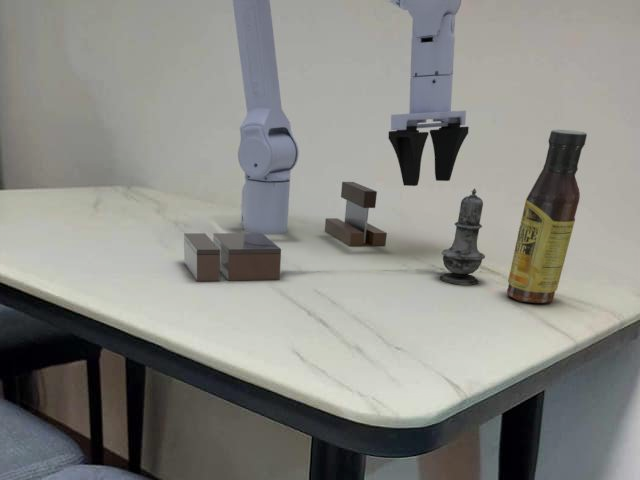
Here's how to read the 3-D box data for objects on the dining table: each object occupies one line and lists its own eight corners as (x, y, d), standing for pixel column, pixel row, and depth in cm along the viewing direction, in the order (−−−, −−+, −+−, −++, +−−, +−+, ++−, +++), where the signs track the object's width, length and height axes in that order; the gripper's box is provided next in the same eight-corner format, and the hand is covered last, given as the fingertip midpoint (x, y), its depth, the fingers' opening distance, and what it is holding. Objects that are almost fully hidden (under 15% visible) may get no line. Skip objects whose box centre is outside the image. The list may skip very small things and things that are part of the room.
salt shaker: (481, 287, 99) (498, 193, 93) (437, 282, 100) (452, 189, 94) (479, 277, 104) (496, 187, 98) (437, 272, 105) (451, 183, 99)
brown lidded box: (213, 262, 103) (213, 233, 101) (260, 261, 105) (261, 233, 103) (228, 280, 95) (228, 249, 93) (279, 279, 97) (281, 248, 95)
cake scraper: (337, 231, 123) (342, 181, 119) (348, 231, 123) (353, 181, 119) (359, 244, 114) (364, 191, 110) (371, 244, 115) (377, 191, 111)
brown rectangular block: (184, 262, 102) (183, 233, 100) (205, 262, 103) (205, 233, 101) (197, 281, 94) (196, 249, 92) (219, 280, 95) (220, 249, 93)
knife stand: (324, 236, 123) (325, 218, 122) (357, 236, 125) (359, 218, 123) (349, 253, 113) (350, 233, 112) (384, 252, 115) (387, 232, 114)
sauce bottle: (500, 290, 98) (533, 126, 88) (546, 293, 98) (584, 130, 88) (512, 304, 92) (548, 130, 82) (561, 307, 92) (604, 134, 82)
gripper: (422, 74, 93) (417, 188, 99) (486, 74, 102) (479, 179, 108) (379, 78, 98) (378, 187, 104) (444, 77, 107) (440, 178, 113)
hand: (427, 183), depth 106 cm, fingers open, 7 cm apart
